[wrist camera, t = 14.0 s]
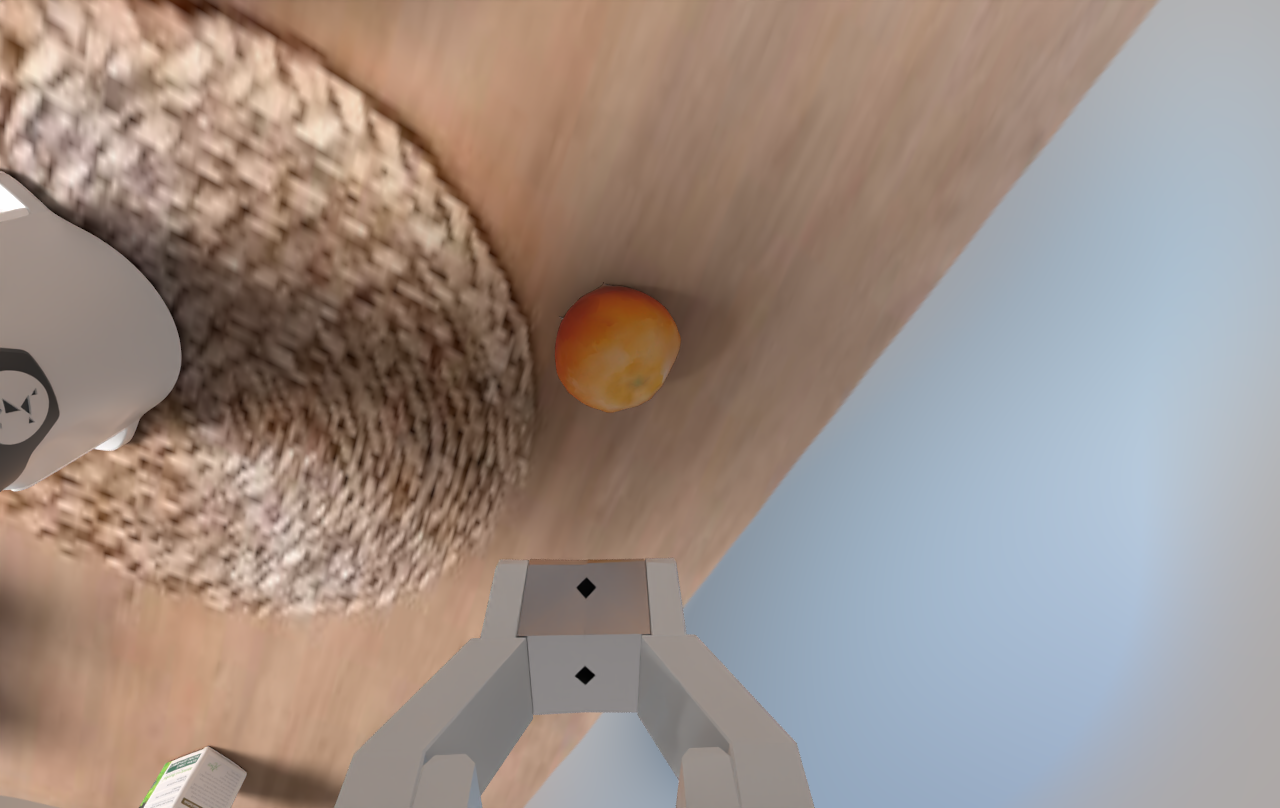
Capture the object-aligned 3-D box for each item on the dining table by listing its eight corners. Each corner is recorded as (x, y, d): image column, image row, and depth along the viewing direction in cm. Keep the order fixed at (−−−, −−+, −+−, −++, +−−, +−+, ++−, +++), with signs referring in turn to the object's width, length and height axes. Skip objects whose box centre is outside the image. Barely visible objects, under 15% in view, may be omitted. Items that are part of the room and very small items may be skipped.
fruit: (587, 233, 37) (642, 315, 32) (662, 282, 43) (718, 358, 38) (508, 326, 40) (549, 414, 35) (589, 361, 46) (633, 440, 41)
